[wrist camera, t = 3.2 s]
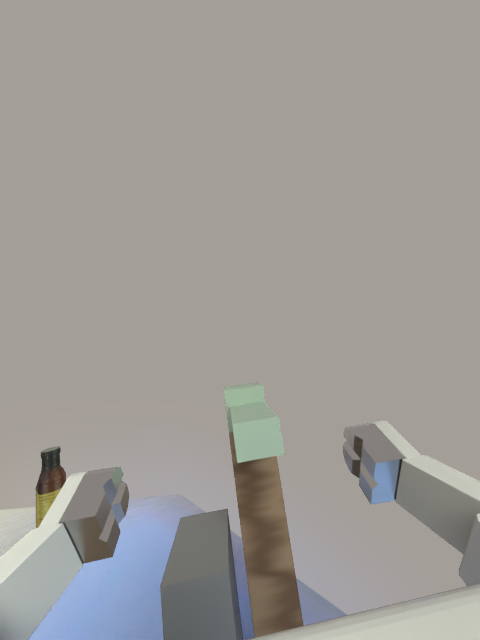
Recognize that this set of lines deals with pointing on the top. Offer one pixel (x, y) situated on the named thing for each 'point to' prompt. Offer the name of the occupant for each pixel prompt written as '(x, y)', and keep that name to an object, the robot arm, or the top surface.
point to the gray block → (201, 582)
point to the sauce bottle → (48, 482)
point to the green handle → (252, 423)
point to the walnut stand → (266, 545)
